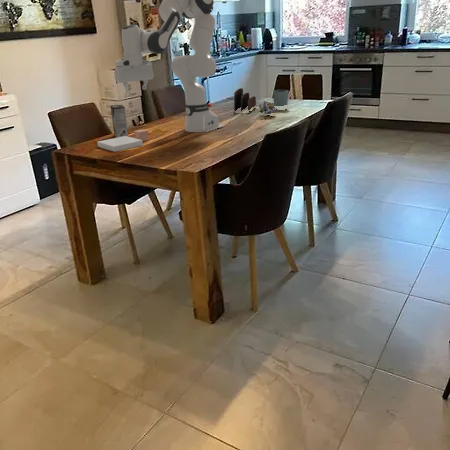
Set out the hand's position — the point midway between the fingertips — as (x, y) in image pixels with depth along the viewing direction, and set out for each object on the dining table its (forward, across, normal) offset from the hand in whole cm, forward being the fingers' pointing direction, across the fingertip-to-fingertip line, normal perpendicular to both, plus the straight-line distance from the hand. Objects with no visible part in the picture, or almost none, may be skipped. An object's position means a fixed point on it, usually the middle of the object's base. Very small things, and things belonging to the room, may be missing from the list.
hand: (136, 90), depth 234 cm
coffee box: (+25, +2, -17) cm, 30 cm away
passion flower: (+24, -86, +7) cm, 90 cm away
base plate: (+25, +14, +2) cm, 29 cm away
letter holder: (+24, -93, -19) cm, 98 cm away
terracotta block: (+25, 0, 0) cm, 25 cm away
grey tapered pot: (+24, -110, -3) cm, 112 cm away
